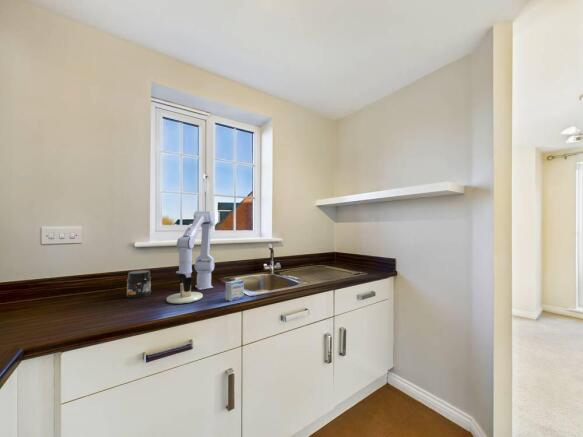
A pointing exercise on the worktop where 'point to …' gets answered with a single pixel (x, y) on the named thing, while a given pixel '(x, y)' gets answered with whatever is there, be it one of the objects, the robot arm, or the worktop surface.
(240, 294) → the medicine box
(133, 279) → the supplement container
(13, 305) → the worktop surface
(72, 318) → the worktop surface
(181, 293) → the tan rectangular block
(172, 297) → the sage dish
